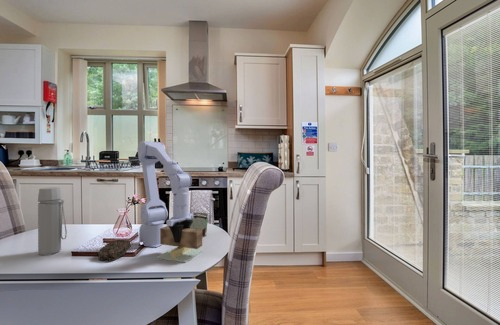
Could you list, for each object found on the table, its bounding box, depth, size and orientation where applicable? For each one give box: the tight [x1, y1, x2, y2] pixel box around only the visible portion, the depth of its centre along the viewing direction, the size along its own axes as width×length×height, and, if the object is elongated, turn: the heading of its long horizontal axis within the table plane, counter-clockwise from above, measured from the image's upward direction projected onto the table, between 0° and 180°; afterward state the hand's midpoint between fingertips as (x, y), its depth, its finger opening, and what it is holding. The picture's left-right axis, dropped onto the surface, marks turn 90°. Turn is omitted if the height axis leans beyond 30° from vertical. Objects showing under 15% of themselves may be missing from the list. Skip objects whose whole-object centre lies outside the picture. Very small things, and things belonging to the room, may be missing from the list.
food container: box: [189, 212, 210, 238], centre depth 129 cm, size 12×6×10 cm, turn 74°
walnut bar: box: [160, 225, 203, 249], centre depth 100 cm, size 16×4×6 cm, turn 70°
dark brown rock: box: [97, 239, 132, 262], centre depth 99 cm, size 12×10×5 cm
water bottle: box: [37, 186, 68, 256], centre depth 102 cm, size 9×8×25 cm
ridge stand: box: [157, 246, 204, 263], centre depth 100 cm, size 12×12×3 cm
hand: (180, 240), depth 100 cm, fingers closed on walnut bar, 4 cm apart
